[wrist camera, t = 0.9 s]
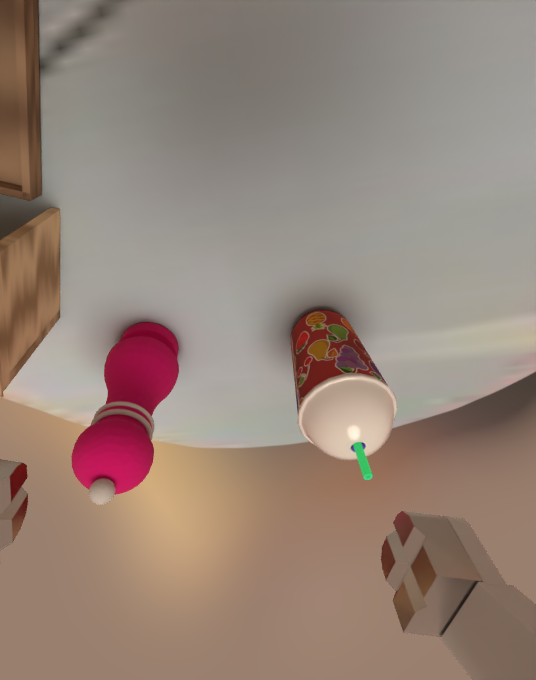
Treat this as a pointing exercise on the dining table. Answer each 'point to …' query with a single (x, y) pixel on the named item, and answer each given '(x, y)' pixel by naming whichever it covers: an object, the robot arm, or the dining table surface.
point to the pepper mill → (127, 412)
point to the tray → (19, 100)
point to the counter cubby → (28, 290)
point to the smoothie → (339, 390)
